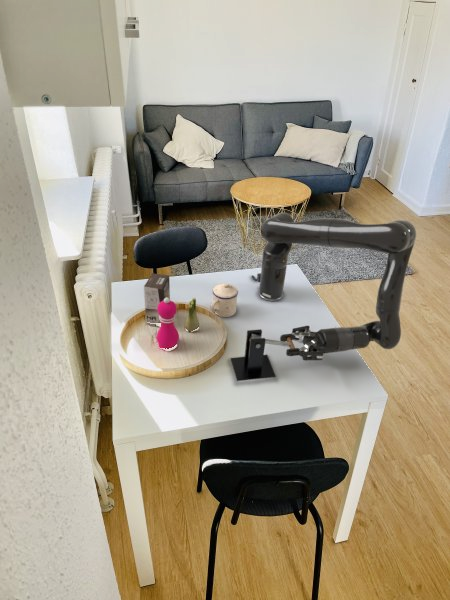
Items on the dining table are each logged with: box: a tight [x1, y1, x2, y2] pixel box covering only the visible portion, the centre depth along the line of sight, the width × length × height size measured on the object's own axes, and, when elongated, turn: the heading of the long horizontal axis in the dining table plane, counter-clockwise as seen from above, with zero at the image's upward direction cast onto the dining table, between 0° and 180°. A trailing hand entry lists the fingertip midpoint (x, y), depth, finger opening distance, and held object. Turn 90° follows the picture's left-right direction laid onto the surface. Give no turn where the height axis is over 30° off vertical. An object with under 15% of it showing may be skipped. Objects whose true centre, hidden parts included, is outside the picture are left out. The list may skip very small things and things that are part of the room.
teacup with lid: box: [210, 282, 239, 318], centre depth 163 cm, size 12×9×12 cm
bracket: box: [230, 328, 276, 382], centre depth 138 cm, size 12×10×14 cm
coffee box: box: [143, 272, 171, 327], centre depth 157 cm, size 9×6×16 cm
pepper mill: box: [156, 297, 180, 349], centre depth 143 cm, size 7×7×20 cm
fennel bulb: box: [184, 297, 200, 331], centre depth 153 cm, size 6×5×12 cm
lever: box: [249, 334, 296, 349], centre depth 137 cm, size 14×6×2 cm, turn 102°
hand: (283, 345), depth 139 cm, fingers closed on lever, 6 cm apart
